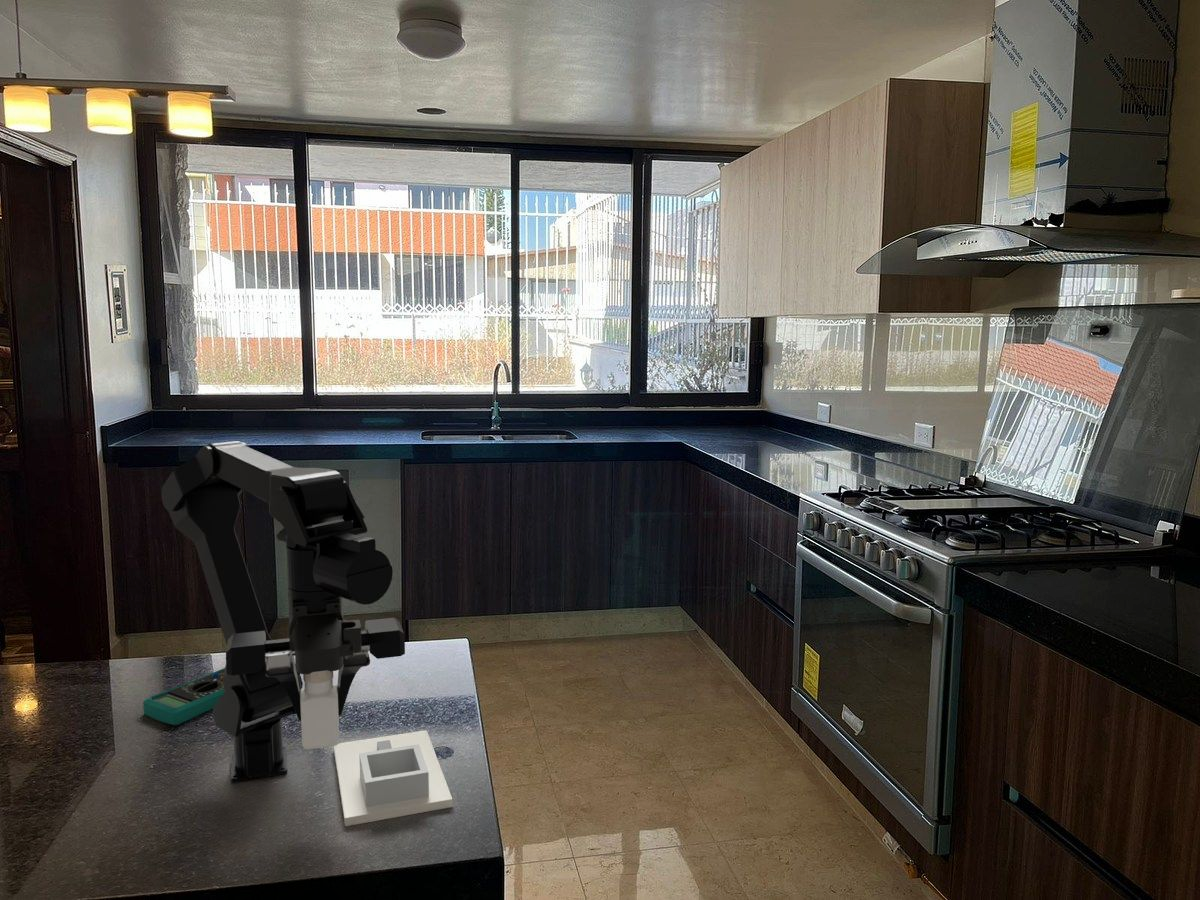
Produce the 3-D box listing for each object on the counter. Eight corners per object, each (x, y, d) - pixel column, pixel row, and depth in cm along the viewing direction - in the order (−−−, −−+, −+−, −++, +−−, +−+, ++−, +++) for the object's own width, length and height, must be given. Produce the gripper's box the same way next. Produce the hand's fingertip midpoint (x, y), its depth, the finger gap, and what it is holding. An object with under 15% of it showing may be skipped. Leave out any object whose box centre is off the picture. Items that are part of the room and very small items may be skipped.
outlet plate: (333, 751, 115) (332, 722, 115) (426, 737, 120) (426, 709, 119) (345, 826, 99) (343, 793, 98) (452, 806, 103) (452, 774, 102)
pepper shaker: (338, 731, 104) (336, 654, 102) (339, 747, 100) (336, 667, 99) (302, 736, 103) (299, 657, 101) (302, 752, 99) (298, 671, 98)
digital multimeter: (263, 691, 135) (262, 672, 134) (174, 729, 122) (172, 709, 121) (231, 681, 138) (230, 662, 138) (141, 717, 125) (139, 697, 125)
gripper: (219, 616, 88) (227, 763, 90) (410, 598, 94) (413, 736, 97) (225, 583, 98) (232, 716, 101) (397, 569, 105) (400, 695, 107)
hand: (320, 716), depth 101 cm, fingers closed on pepper shaker, 4 cm apart
